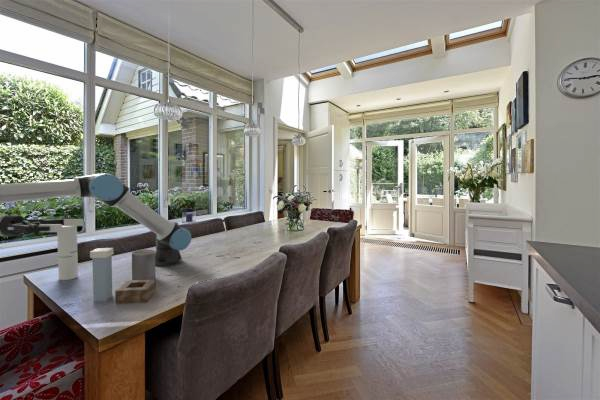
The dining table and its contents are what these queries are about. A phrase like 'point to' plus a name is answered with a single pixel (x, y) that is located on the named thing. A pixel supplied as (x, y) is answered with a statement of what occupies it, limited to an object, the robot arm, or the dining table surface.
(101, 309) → the dining table surface
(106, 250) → the plug
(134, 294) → the socket block
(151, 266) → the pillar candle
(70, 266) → the cylindrical container
